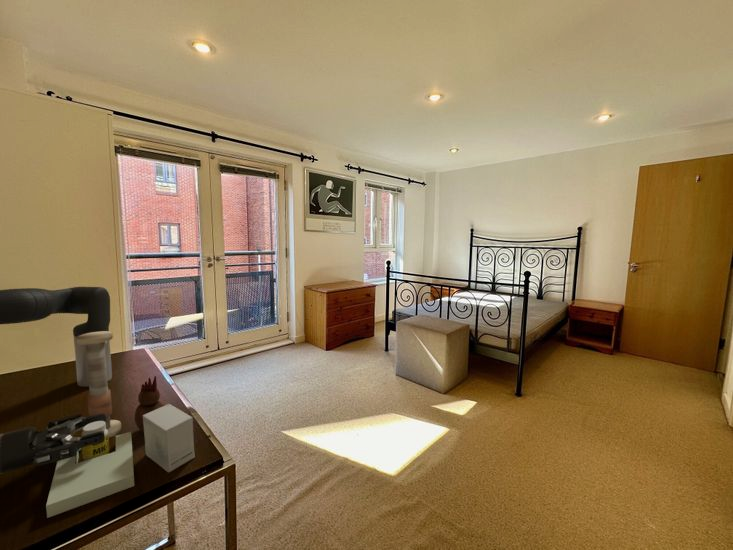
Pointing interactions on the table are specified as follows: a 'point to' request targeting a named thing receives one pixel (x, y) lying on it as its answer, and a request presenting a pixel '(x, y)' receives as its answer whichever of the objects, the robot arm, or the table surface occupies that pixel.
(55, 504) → the notched board
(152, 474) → the table surface
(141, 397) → the wooden figurine
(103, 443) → the supplement bottle
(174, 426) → the skincare box
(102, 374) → the bobbin post
